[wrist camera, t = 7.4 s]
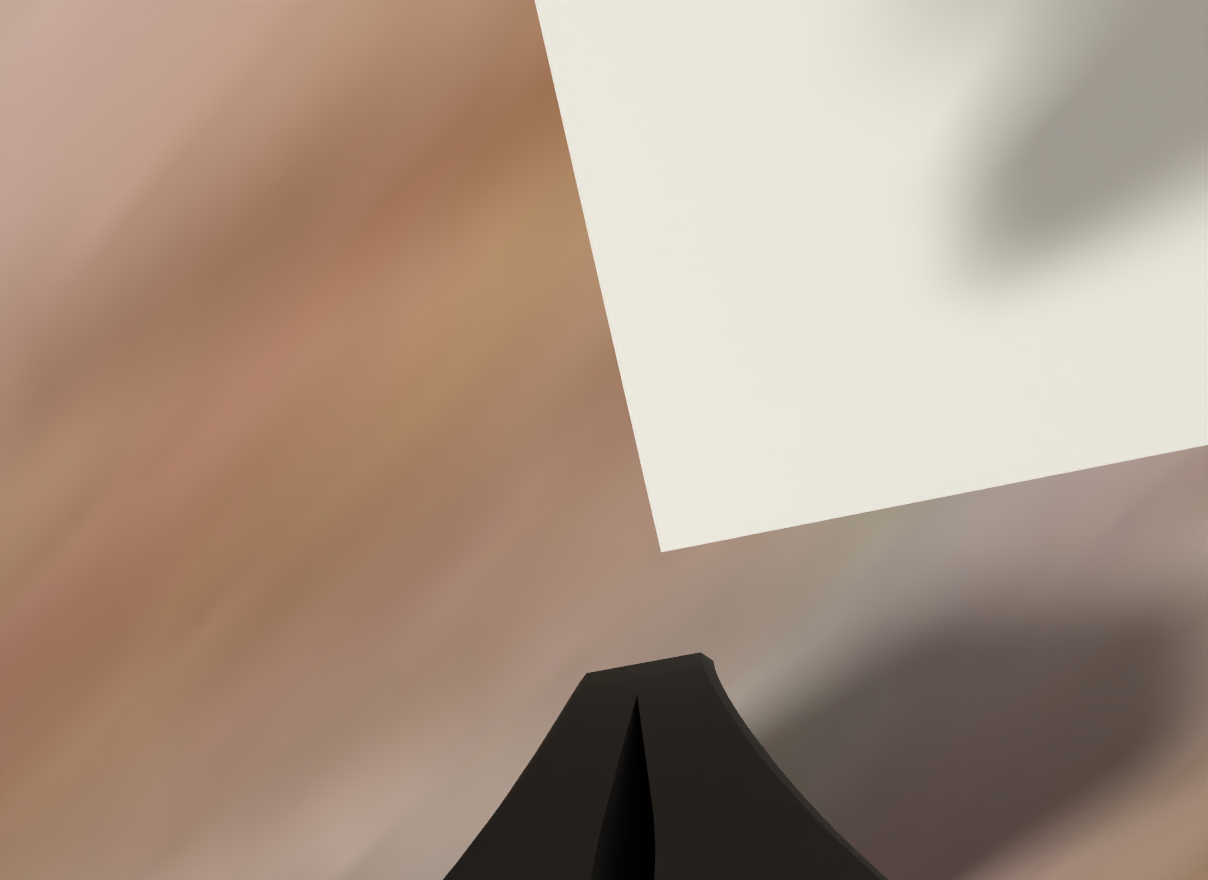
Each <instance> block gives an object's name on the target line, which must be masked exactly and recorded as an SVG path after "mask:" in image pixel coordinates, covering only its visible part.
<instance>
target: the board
mask: <svg viewBox="0 0 1208 880" xmlns="http://www.w3.org/2000/svg"><path fill="white" fill-rule="evenodd" d="M535 4H536V8H537V12H538V17H539V21H540V25H541V30H542V34H543V38H544V43H545V47H546V52H547V56H548V60H549V65H550V69H551V73H552V78H553V82H554V86H555V91H556V95H557V100H558V104H559V108H560V113H561V117H562V121H563V126H564V130H565V134H566V139H567V143H568V148H569V152H570V156H571V161H572V165H573V169H574V174H575V178H576V182H577V187H578V191H579V196H580V200H581V204H582V209H583V213H584V217H585V222H586V226H587V230H588V235H589V239H590V244H591V248H592V252H593V257H594V261H595V265H596V270H597V274H598V278H599V283H600V287H601V292H602V296H603V300H604V305H605V309H606V313H607V318H608V322H609V327H610V331H611V335H612V340H613V344H614V348H615V353H616V357H617V361H618V366H619V370H620V375H621V379H622V383H623V388H624V392H625V396H626V401H627V405H628V409H629V414H630V418H631V423H632V427H633V431H634V436H635V440H636V444H637V449H638V453H639V457H640V462H641V466H642V471H643V475H644V479H645V484H646V488H647V492H648V497H649V501H650V505H651V510H652V514H653V519H654V523H655V527H656V532H657V536H658V540H659V545H660V549H661V552H665V551H670V550H675V549H680V548H685V547H690V546H695V545H701V544H706V543H711V542H716V541H721V540H726V539H731V538H736V537H741V536H746V535H751V534H756V533H762V532H767V531H772V530H777V529H782V528H787V527H792V526H797V525H802V524H807V523H812V522H817V521H823V520H828V519H833V518H838V517H843V516H848V515H853V514H858V513H863V512H868V511H873V510H878V509H884V508H889V507H894V506H899V505H904V504H909V503H914V502H919V501H924V500H929V499H934V498H939V497H945V496H950V495H955V494H960V493H965V492H970V491H975V490H980V489H985V488H990V487H995V486H1000V485H1006V484H1011V483H1016V482H1021V481H1026V480H1031V479H1036V478H1041V477H1046V476H1051V475H1056V474H1061V473H1067V472H1072V471H1077V470H1082V469H1087V468H1092V467H1097V466H1102V465H1107V464H1112V463H1117V462H1122V461H1128V460H1133V459H1138V458H1143V457H1148V456H1153V455H1158V454H1163V453H1168V452H1173V451H1178V450H1183V449H1189V448H1194V447H1199V446H1204V445H1208V0H535Z"/></svg>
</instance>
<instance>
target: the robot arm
mask: <svg viewBox="0 0 1208 880" xmlns="http://www.w3.org/2000/svg"><path fill="white" fill-rule="evenodd" d="M443 880H888V879H886V878H885V877H884V876H883V875H882V874H881V873H880V872H879V871H878V870H877V869H875V868H874V867H873V866H872V865H871V864H870V863H869V862H868V861H867V860H866V859H864V858H863V857H862V856H861V855H860V854H859V853H858V852H857V851H856V850H855V849H854V848H853V847H852V846H851V845H850V844H849V843H848V842H847V841H846V840H845V839H843V838H842V837H841V836H840V835H839V834H838V833H837V832H836V831H835V829H834V828H833V827H832V826H831V825H830V824H829V823H828V822H827V821H826V820H825V819H824V818H823V817H822V816H821V815H820V814H819V813H818V812H817V811H816V810H815V808H814V807H813V806H812V805H811V804H810V803H809V802H808V801H807V800H806V799H805V797H804V796H803V795H802V794H801V793H800V792H799V791H798V790H797V789H796V788H795V786H794V785H793V784H792V783H791V782H790V781H789V779H788V778H787V777H786V776H785V775H784V773H783V772H782V771H781V770H780V769H779V768H778V766H777V765H776V764H775V762H774V761H773V760H772V759H771V757H770V756H769V755H768V753H767V752H766V751H765V749H764V748H763V747H762V745H761V744H760V743H759V742H758V740H757V739H756V738H755V736H754V735H753V734H752V732H751V731H750V730H749V728H748V727H747V725H746V724H745V722H744V721H743V720H742V718H741V717H740V715H739V714H738V712H737V710H736V709H735V707H734V706H733V704H732V702H731V701H730V699H729V698H728V696H727V694H726V692H725V690H724V688H723V687H722V685H721V683H720V680H719V678H718V676H717V673H716V671H715V667H714V663H713V660H711V659H710V658H708V657H707V656H705V655H704V654H702V653H701V652H700V653H695V654H689V655H684V656H678V657H673V658H668V659H662V660H657V661H651V662H646V663H640V664H635V665H629V666H624V667H618V668H613V669H607V670H602V671H596V672H591V673H586V675H585V676H584V678H583V679H582V680H581V682H580V683H579V685H578V686H577V688H576V689H575V691H574V692H573V694H572V695H571V697H570V699H569V700H568V702H567V704H566V705H565V707H564V708H563V710H562V712H561V713H560V715H559V717H558V718H557V720H556V721H555V723H554V725H553V726H552V728H551V729H550V731H549V733H548V734H547V736H546V737H545V739H544V740H543V742H542V744H541V745H540V747H539V748H538V750H537V751H536V753H535V755H534V756H533V758H532V759H531V760H530V762H529V763H528V765H527V766H526V768H525V769H524V771H523V772H522V774H521V775H520V777H519V778H518V780H517V781H516V783H515V784H514V786H513V787H512V789H511V790H510V792H509V793H508V795H507V796H506V798H505V799H504V800H503V802H502V803H501V805H500V806H499V808H498V809H497V810H496V812H495V813H494V814H493V816H492V817H491V818H490V820H489V821H488V822H487V824H486V825H485V826H484V828H483V829H482V830H481V832H480V833H479V834H478V836H477V837H476V838H475V839H474V841H473V842H472V843H471V845H470V846H469V847H468V849H467V850H466V851H465V853H464V854H463V855H462V857H461V858H460V859H459V861H458V862H457V863H456V864H455V866H454V867H453V868H452V869H451V870H450V872H449V873H448V874H447V875H446V877H445V878H444V879H443Z"/></svg>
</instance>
